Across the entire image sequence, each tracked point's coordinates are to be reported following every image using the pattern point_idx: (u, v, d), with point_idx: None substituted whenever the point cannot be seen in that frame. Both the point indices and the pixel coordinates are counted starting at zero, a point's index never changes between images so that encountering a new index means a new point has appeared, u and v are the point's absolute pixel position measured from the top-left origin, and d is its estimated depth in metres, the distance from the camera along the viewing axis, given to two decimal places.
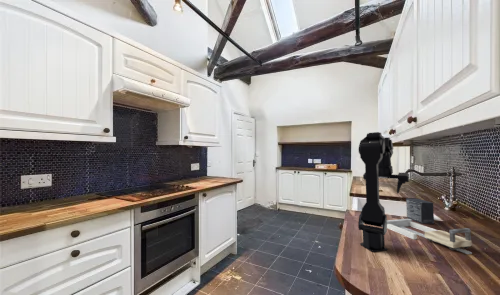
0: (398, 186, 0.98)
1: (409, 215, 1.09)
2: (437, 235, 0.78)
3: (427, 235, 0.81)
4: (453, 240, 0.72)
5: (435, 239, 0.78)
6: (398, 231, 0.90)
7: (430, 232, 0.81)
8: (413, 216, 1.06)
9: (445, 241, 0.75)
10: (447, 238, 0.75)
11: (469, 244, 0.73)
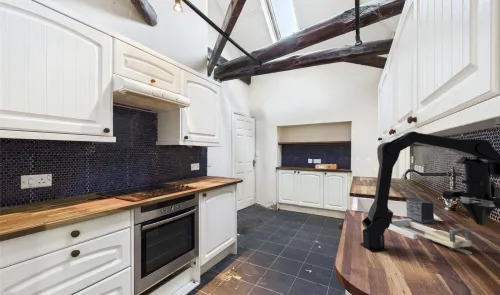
0: (478, 212, 0.66)
1: (409, 215, 1.09)
2: (437, 235, 0.78)
3: (427, 235, 0.81)
4: (453, 240, 0.72)
5: (435, 239, 0.78)
6: (398, 231, 0.90)
7: (430, 232, 0.81)
8: (413, 216, 1.06)
9: (445, 241, 0.75)
10: (447, 238, 0.75)
11: (469, 244, 0.73)
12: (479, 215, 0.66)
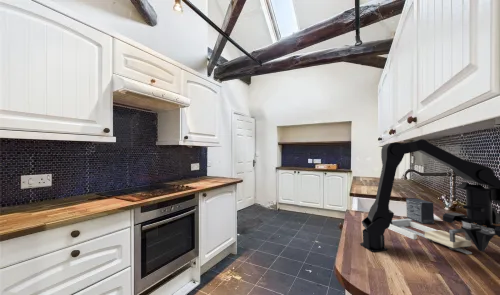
0: (478, 238, 0.66)
1: (409, 215, 1.09)
2: (437, 235, 0.78)
3: (427, 235, 0.81)
4: (453, 240, 0.72)
5: (435, 239, 0.78)
6: (398, 231, 0.90)
7: (430, 232, 0.81)
8: (413, 216, 1.06)
9: (445, 241, 0.75)
10: (447, 238, 0.75)
11: (469, 244, 0.73)
12: (479, 241, 0.66)
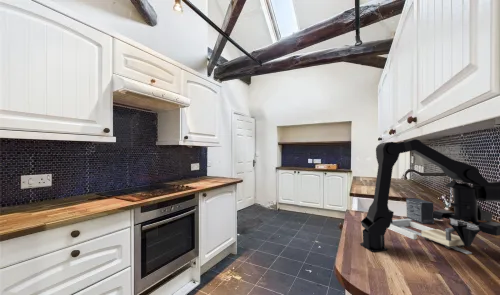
0: (464, 234, 0.70)
1: (409, 215, 1.09)
2: (433, 234, 0.79)
3: (424, 234, 0.82)
4: (449, 239, 0.73)
5: (432, 238, 0.79)
6: (398, 231, 0.90)
7: (427, 231, 0.82)
8: (413, 216, 1.06)
9: (441, 239, 0.76)
10: (443, 237, 0.76)
11: None
12: (465, 237, 0.70)
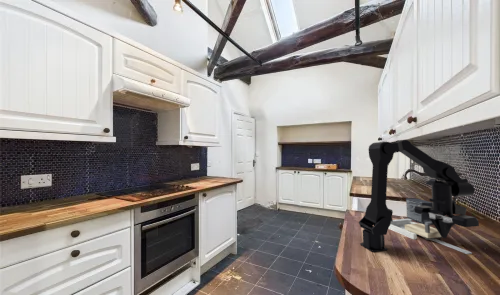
0: (441, 226, 0.77)
1: (409, 215, 1.09)
2: (415, 227, 0.86)
3: (407, 227, 0.89)
4: (428, 231, 0.81)
5: (413, 231, 0.86)
6: (398, 231, 0.90)
7: (409, 225, 0.90)
8: (413, 216, 1.06)
9: (421, 232, 0.83)
10: (423, 230, 0.84)
11: None
12: (441, 229, 0.78)
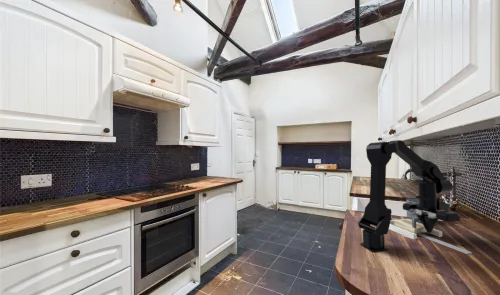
0: (426, 222, 0.83)
1: (409, 215, 1.09)
2: (403, 223, 0.92)
3: (396, 223, 0.95)
4: (414, 226, 0.86)
5: (401, 226, 0.92)
6: (398, 231, 0.90)
7: (398, 221, 0.95)
8: (413, 216, 1.06)
9: (408, 227, 0.89)
10: (410, 225, 0.89)
11: None
12: (427, 224, 0.83)
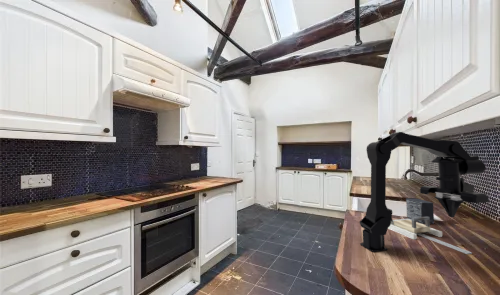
0: (448, 205, 0.75)
1: (409, 215, 1.09)
2: (403, 223, 0.92)
3: (396, 223, 0.95)
4: (414, 226, 0.86)
5: (401, 226, 0.92)
6: (398, 231, 0.90)
7: (398, 221, 0.95)
8: (413, 216, 1.06)
9: (408, 227, 0.89)
10: (410, 225, 0.89)
11: (428, 230, 0.87)
12: (449, 208, 0.75)
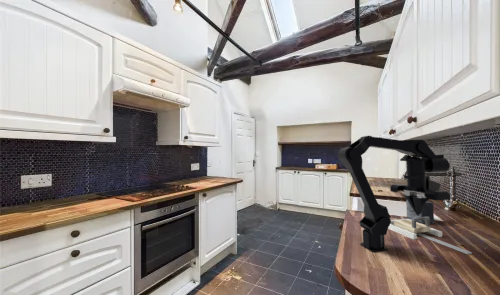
0: (414, 203, 0.76)
1: (409, 215, 1.09)
2: (403, 223, 0.92)
3: (396, 223, 0.95)
4: (414, 226, 0.86)
5: (401, 226, 0.92)
6: (398, 231, 0.90)
7: (398, 221, 0.95)
8: (413, 216, 1.06)
9: (408, 227, 0.89)
10: (410, 225, 0.89)
11: (428, 230, 0.87)
12: (415, 205, 0.76)
